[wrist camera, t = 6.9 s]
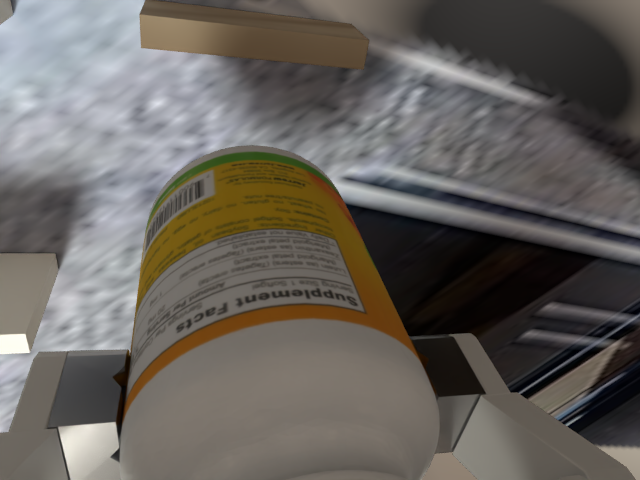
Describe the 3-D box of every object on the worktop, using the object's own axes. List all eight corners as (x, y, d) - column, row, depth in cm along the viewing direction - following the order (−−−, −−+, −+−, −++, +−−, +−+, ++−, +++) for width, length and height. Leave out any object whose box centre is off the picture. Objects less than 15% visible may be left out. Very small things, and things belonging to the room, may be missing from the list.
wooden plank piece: (145, -2, 14) (139, 14, 12) (351, 23, 15) (369, 40, 14) (156, 270, 19) (153, 305, 18) (308, 269, 21) (318, 302, 19)
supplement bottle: (330, 298, 16) (461, 686, 8) (154, 307, 15) (115, 775, 7) (357, 141, 13) (601, 522, 5) (138, 136, 12) (41, 626, 4)
